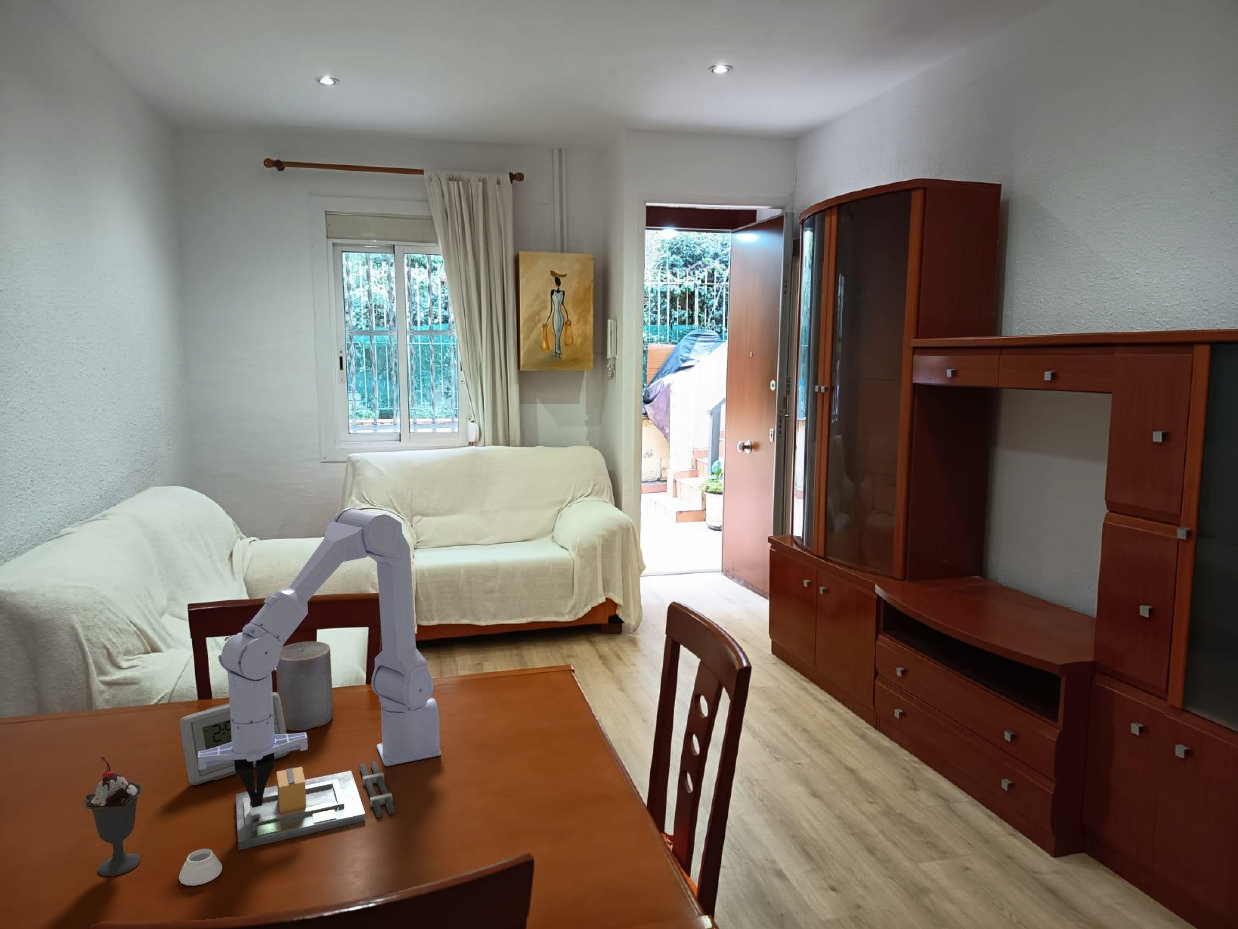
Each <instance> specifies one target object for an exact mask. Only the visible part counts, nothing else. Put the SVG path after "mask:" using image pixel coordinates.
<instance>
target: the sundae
mask: <svg viewBox="0 0 1238 929" xmlns="http://www.w3.org/2000/svg"><path fill="white" fill-rule="evenodd" d="M100 759H101V760H102V761H104V762H105V763H106V770H105V771H104V772H103V773H102V774H101V777H102V779H101V780H100V782H99V783H98V784H97V787H96V789H95V790H94V791H92V792H90V793H89V794H87V795H85V798H84V803H83V804H84V807H85V808H86V809H89V810H91V812H92V814H93V819H94V823H95V826H96V830H97V832H98V833H97V834H98V835H99V836H98V837H99V838H100V840H102V841H103V842H105V843H108V844H111V846H112V851H113V852H112V856H111V857H109V858H108V859H106V860H104V861H103V862H102V863H101V864H100V865H99V866H98V867H97V873H98V874H99V875H100V876H102V877H106V876H111V877H117V876H121V875H123V874H126V873H129V872H131V871H133V870H134V869H135V868H137V867H138V865H139V864H140V862H141V856H140V855H139V854H136V853H125V850H124V841H125V840H126V839H127V838H128V837H129V836H130V835H131V833H132V832H133V831H134V828H135V824H136V817H137V816H136V814H137V803H138V798H139V796H140V794H141V793H142V792H143V790H144V787H143V786H141V785H140V784H139V783H137V782H134V781H127V780H126V778H125V777H124V776H122V774H118V773H115V772H114V771H113V770H111V766H110V763H109V762H108V761H107V760H106V759H105V757H104V756H103V755H102V756H101V757H100Z"/></svg>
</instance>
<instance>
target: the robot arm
mask: <svg viewBox="0 0 1238 929" xmlns="http://www.w3.org/2000/svg"><path fill="white" fill-rule="evenodd" d="M410 548H411V547H410V545H409V543H408V541H407V539H406V537H405V535H404V533H403V524H402V522H401V521H399V520H398V519H396V518H394V517H393V516H391V515H389V514H386V513H377V512H372V511H371V512H370V511H366V510H360V509H358V508H355V507H348V508H344V509H343V510H341V511H339V513H338V514H337V515H336V516H335V517H334V519H333V521H332V522H330V523H329V524H328V525H327V526H326V528H325V534H324V537H323V539H322V541H321V542H320V543H319V544H318V546H317V548H316V549H315V550H314V552H313V553H312V555H311V556H310V557H309V559H308V561H307V562H306V563H305V564H304V565H303V567H302V569H301V570H300V571H299V572H298V573H297V575H296V577H295V578H294V580H293V581H292V582H291V584H290V585H289V586H288V587H287V588H284V589H280V590H276V591H275V592H274V593H273V594H272V595H270V594H268V595H267V597H266V598H265V599H264V600H263V603H264V605H263V606H262V607H261V608H260V609H259V611H258V612H257V614H255V615H254V617H253V618H252V619H251V620H250V621H249V623H247V624H245V625H244V626H243V628H242V629H241V630H242V632H238V633H237V634H236V635H235V634H234V635H232V636H231V637H230V638H229V639H227V640H226V642H225V643H224V645H223V647H222V650H221V654H219V655H218V656H217V658H218V662H219V664H220V666H221V667H222V668H223V669H224V670H225V671H226V673H227V682H228V700H229V702H228V703H230V720H231V738H232V742H230V743H227V744H224V745H221V746H218V747H215V748H211V749H208V750H204V751H199V752H198V769H199V770H202V769H206V768H207V766H212V765H217V764H223V763H228V762H233V761H234V764H235V772H236V774H235V775H236V776H237V777H238V778H239V779H240V781H241V782H242V784H243V786H244V787H245V791H246V792H248V794H249V797H250V800H251V805H252V808H254V807H259V806H262V800H263V794H264V790H265V788H267V786H266V785H267V783H268V780H269V778H270V775H271V774H272V772H273V769H274V767H275V763H276V759H275V758H274V754H276V753H282V752H287V751H289V752H292V751H298V750H299V751H301V752H302V751H306V750H307V751H308V747H309V746H308V745H309V744H308V735H307V732H299V733H287V734H276V735H275V734H274V713H273V694H272V692H273V678H272V676H273V674H272V672H273V671H274V670H276V667H277V665H278V663H279V659H280V652H281V650H282V648H283V647H284V644H285V643H286V642H287V640H288V639H289V638H290V637H291V635H292V634H293V633H294V631H295V630H297V627H299V625H300V624H301V623H302V621H303V620H304V619H305V618H306V616H307V615H308V613H309V611H308V601H310V599H311V598H312V597H313V596H314V595H315V594H316V593H317V591H318V590H319V589H320V588H321V587H322V586H323V585H324V584H325V583H326V582H327V580H329V579H330V577H331V576H332V575H333V574H334V573H335V571H336V570H337V569H338V568H339V567H340V566H341V565H342V564H343V563H345V562H350V561H355V560H360V559H366V558H367V557H369V558H370V559H372V560H373V561H375V562H376V572H377V586H378V588H377V589H378V601H379V602H378V603H379V617H380V631H381V633H380V634H381V648H382V651H381V652H379V653H378V655H377V656H375V657H374V670H373V673H372V676H371V688H372V691H373V692H374V693H375V694H376V695H377V696H378V702H379V703H380V707H381V708H380V709H381V710H380V711H381V717H380V719H381V743H378V744H376V748H377V750H378V753H379V756H380V759H381V761H382V764H383V765H384V766H385V767H390V766H394V765H398V764H399V765H400V764H405V763H409V762H415V761H419V760H423V759H428V758H433V757H438V756H441V754H442V753H441V748H440V745H441V742H440V739H441V738H440V715H439V714H440V713H439V708H438V705H437V704H438V703H437V701H436V699H435V698H434V697H431V696H432V694H433V691H434V679H433V676H432V675H431V674H430V671H429V667H428V666H429V664H428V660H427V659H426V658H425V656H423V655H422V653H421V652H420V651H419V649H417V646H416V645H417V644H416V629H415V610H414V595H413V594H414V593H413V590H414V589H413V577H412V576H413V574H412V559H411V549H410ZM255 760H256V767H254V766H253V761H255ZM254 768H255V769H256V771H255V769H254ZM255 772H256V782H255ZM255 783H256V784H255Z"/></svg>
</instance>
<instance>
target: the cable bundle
mask: <svg viewBox="0 0 1238 929" xmlns="http://www.w3.org/2000/svg"><path fill="white" fill-rule="evenodd" d="M370 767H371V769H372V772H373V774H369V770H368V767H367V765H366V763H363V762H362V763H360V764H359V770H360V773H361V775H362V785H363V786H365V787H366V791H367V793H368V796H369V804H370V807H371V808H372V807H373V810H374V813H375V815H376V818H377V819H378V818H382V817H384V812H383V810H382V809H383V808H382V807H381V806H382V805H385V806H386V810H387V812H388V814H389V816H393V815H395V813H396V808H395V805H394V803H393V795H392V792H389V790H388V788H387V786H386V783H385V773H384V772H381V770H380V768H379V765H378V763H377V761H376V760H373V761H371V763H370ZM374 784H377V785H378V789H379V791H380V793H381V794H380V795H377V792H376V790H375V787H374Z"/></svg>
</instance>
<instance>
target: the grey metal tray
mask: <svg viewBox="0 0 1238 929" xmlns="http://www.w3.org/2000/svg"><path fill="white" fill-rule="evenodd" d="M305 789H306V808H304V809H299V810H295V811H290V812H286V813H281V814H280V811H279V803H278V791H277V785H273V786H269V787H265V790H264V794H263V800H262V806H259V807H254V808H252V805H251V800H250V797H249V794H248V792H247V791H243V792H240V793H239V792H238V793H235V801H236V802H235V804H236V826H237V847H238V851H241V850H245V849H250V848H254V847H258V846H259V847H260V846H264V845H265V844H266V845H267V844H270V843H275V842H279V841H284V840H288V839H293V838H297V837H301V836H307V835H310V834H314V833H319V832H323V831H324V832H325V831H327V830H333V829H336V828H340V827H345V826H350V825H354V824H359V823H362V822H366V812H365V809H364V806H363V802H362V799H361V797H360V794H359V790H358V788H357V784H356V781H355V778H354V775H353V772H352V770H348V771H343V772H338V773H334V774H332V773H331V774H328V775H322V776H319V777H318V776H317V777H313V778H309V779H305Z"/></svg>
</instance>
